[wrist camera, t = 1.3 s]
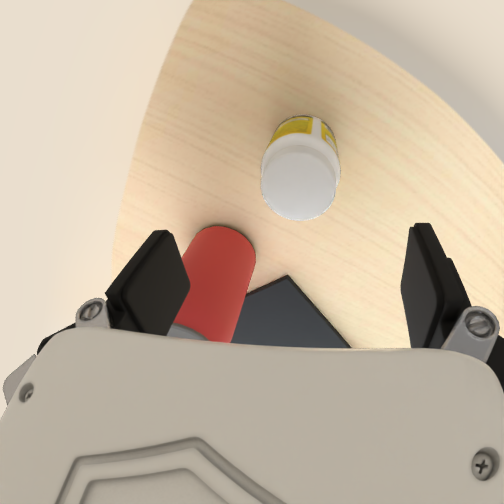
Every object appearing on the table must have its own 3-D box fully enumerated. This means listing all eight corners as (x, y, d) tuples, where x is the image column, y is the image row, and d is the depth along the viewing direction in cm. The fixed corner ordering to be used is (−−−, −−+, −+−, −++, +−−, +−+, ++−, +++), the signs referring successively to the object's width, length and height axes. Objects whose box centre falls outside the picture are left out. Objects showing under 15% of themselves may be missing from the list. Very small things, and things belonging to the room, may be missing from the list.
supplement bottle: (264, 155, 23) (239, 204, 17) (288, 103, 20) (272, 129, 14) (319, 180, 23) (317, 240, 17) (346, 131, 20) (360, 172, 14)
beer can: (193, 268, 32) (147, 359, 23) (193, 216, 28) (132, 309, 19) (253, 282, 32) (222, 382, 22) (261, 230, 28) (226, 336, 18)
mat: (170, 327, 40) (168, 330, 40) (287, 274, 30) (287, 278, 30) (258, 393, 48) (257, 396, 47) (368, 367, 37) (368, 371, 37)
